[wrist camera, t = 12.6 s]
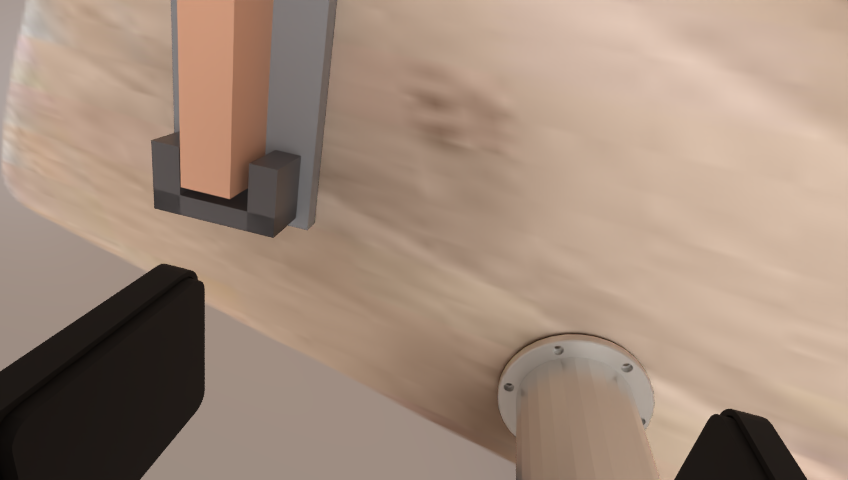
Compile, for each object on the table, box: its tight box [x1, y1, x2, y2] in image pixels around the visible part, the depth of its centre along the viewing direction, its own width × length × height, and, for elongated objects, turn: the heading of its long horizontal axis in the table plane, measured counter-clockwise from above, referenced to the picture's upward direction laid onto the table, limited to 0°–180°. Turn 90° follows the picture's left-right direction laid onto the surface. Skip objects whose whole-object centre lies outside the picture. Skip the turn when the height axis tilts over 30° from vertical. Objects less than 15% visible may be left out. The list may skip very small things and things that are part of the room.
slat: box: [177, 0, 274, 199], centre depth 31 cm, size 20×4×5 cm, turn 169°
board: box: [171, 0, 337, 230], centre depth 34 cm, size 27×11×2 cm, turn 169°
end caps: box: [151, 131, 301, 238], centre depth 32 cm, size 25×9×4 cm, turn 169°
